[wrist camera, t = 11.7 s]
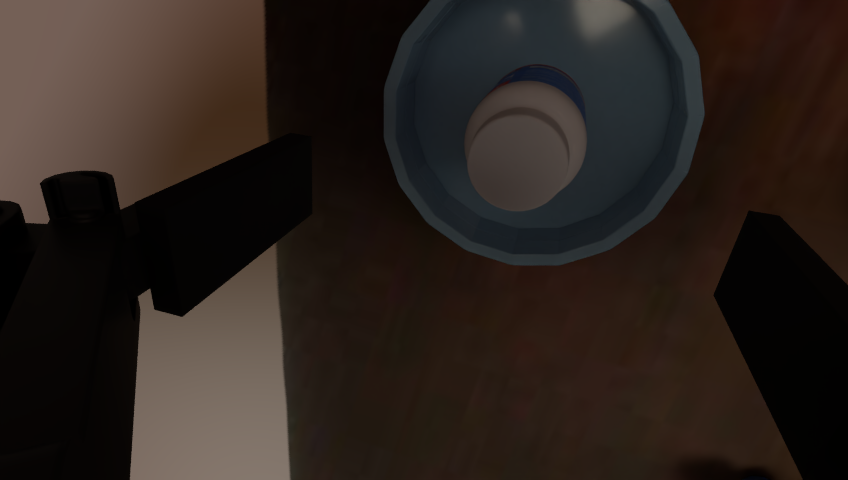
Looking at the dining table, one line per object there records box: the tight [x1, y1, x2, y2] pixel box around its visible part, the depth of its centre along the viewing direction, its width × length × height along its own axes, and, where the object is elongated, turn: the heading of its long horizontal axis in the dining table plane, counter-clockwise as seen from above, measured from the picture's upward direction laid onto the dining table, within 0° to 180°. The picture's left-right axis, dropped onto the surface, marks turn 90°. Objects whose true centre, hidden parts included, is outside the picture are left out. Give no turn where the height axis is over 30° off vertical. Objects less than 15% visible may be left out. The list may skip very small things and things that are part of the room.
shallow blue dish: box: [384, 0, 705, 265], centre depth 26 cm, size 15×16×4 cm
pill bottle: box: [464, 64, 587, 211], centre depth 24 cm, size 6×5×10 cm
